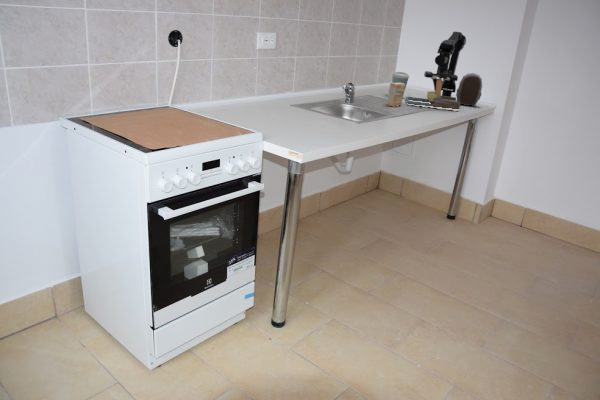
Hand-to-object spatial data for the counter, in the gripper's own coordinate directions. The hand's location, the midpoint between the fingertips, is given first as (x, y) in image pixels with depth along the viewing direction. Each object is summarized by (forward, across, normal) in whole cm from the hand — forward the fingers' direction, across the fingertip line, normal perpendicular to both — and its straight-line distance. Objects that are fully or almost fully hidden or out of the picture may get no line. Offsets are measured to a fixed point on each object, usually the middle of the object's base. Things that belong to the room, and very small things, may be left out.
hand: (437, 90), depth 294 cm
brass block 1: (+6, -3, +3) cm, 7 cm away
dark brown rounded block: (+10, +22, +17) cm, 30 cm away
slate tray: (+10, -9, 0) cm, 13 cm away
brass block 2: (+6, -3, -3) cm, 7 cm away
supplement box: (+10, -26, -13) cm, 30 cm away
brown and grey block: (+5, +1, 0) cm, 5 cm away
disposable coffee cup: (+10, -22, +15) cm, 28 cm away
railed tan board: (+10, +5, 0) cm, 11 cm away
